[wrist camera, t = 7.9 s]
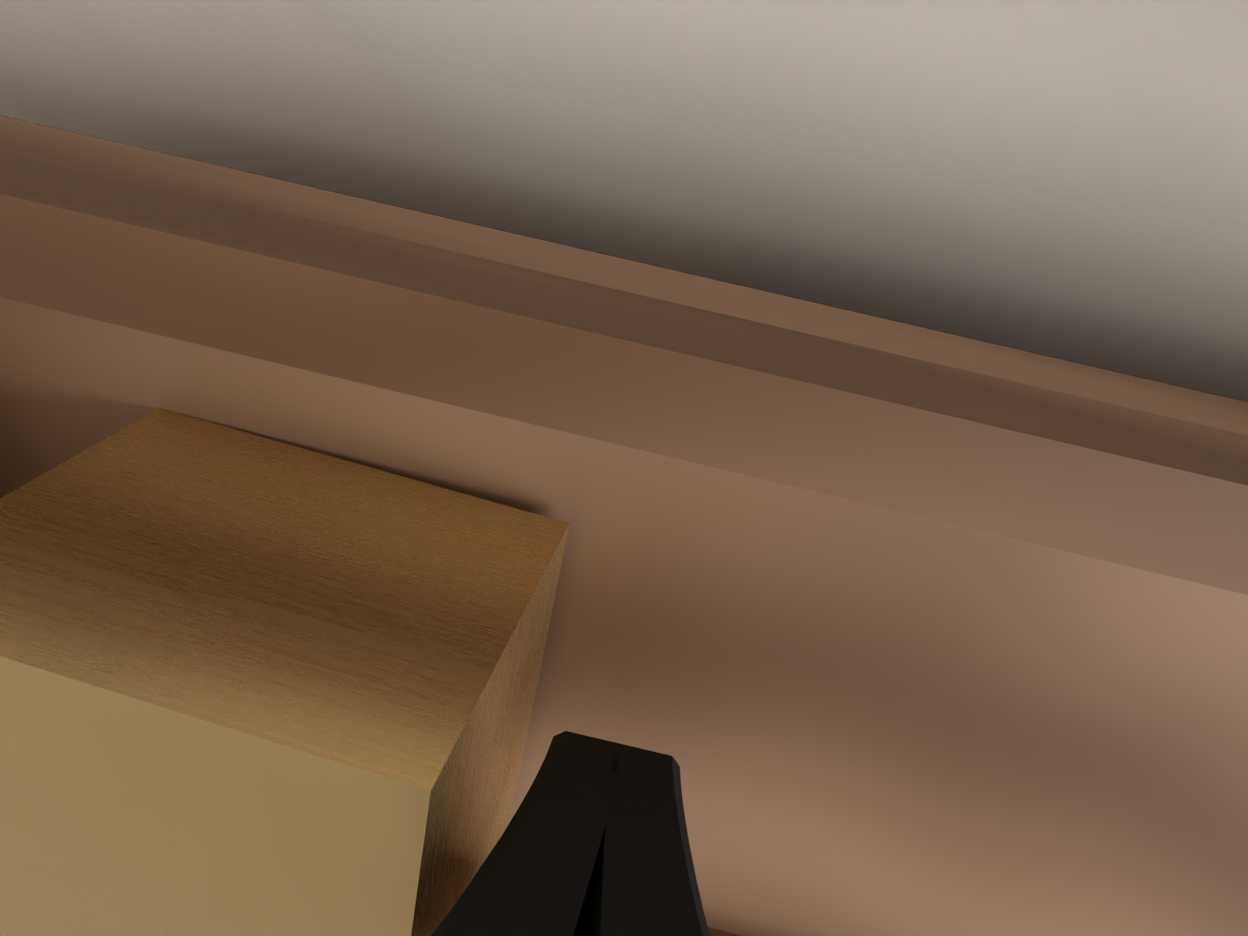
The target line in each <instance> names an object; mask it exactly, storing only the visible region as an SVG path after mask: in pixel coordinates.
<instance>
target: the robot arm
mask: <svg viewBox="0 0 1248 936" xmlns="http://www.w3.org/2000/svg"><path fill="white" fill-rule="evenodd" d="M431 936H710V934H709V930H708V926H707V922H706V918H705V914H704V910H703V906H702V902H701V897H700V893H699V888H698V884H697V879H696V875H695V870H694V864H693V859H692V854H691V849H690V844H689V838H688V833H687V827H686V821H685V814H684V807H683V798H682V789H681V778H680V766H679V765H678V763H677V762H676V760H675V759H674V758H673V756H671V755H667V754H662V753H658V752H654V751H650V750H645V749H641V748H637V747H633V746H628V745H624V744H620V743H616V742H611V741H607V740H603V739H599V738H594V737H590V736H586V735H582V734H577V733H573V732H569V731H564V732H562V733H560V734H557V735H555V736H553V739H552V741H551V744H550V747H549V749H548V752H547V754H546V757H545V759H544V761H543V763H542V765H541V767H540V769H539V771H538V773H537V775H536V777H535V779H534V781H533V783H532V785H531V787H530V789H529V791H528V792H527V794H526V796H525V798H524V799H523V801H522V803H521V805H520V806H519V808H518V810H517V811H516V813H515V815H514V816H513V818H512V820H511V821H510V823H509V825H508V826H507V828H506V830H505V831H504V833H503V834H502V836H501V837H500V839H499V840H498V842H497V843H496V845H495V846H494V848H493V849H492V851H491V852H490V854H489V855H488V857H487V858H486V860H485V861H484V863H483V864H482V866H481V867H480V869H479V870H478V872H477V873H476V875H475V876H474V878H473V879H472V881H471V882H470V883H469V885H468V886H467V888H466V889H465V891H464V892H463V894H462V895H461V897H460V898H459V899H458V901H457V902H456V903H455V905H454V906H453V908H452V909H451V910H450V912H449V913H448V914H447V916H446V917H445V918H444V919H443V921H442V922H441V923H440V925H439V926H438V927H437V929H436V930H435V931H434V933H433V934H432V935H431Z"/></svg>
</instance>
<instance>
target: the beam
mask: <svg viewBox="0 0 1248 936" xmlns="http://www.w3.org/2000/svg"><path fill="white" fill-rule="evenodd" d="M159 408H162V409H165V410H169V411H172V412H176V413H180V414H183V415H187V416H190V417H194V418H197V419H201V420H204V421H208V422H211V423H215V424H219V425H222V426H226V427H229V428H233V429H236V430H240V431H243V432H247V433H250V434H254V435H258V436H261V437H265V438H268V439H272V440H275V441H279V442H282V443H286V444H289V445H293V446H297V447H300V448H304V449H307V450H311V451H314V452H318V453H321V454H325V455H328V456H332V457H336V458H339V459H343V460H346V461H350V462H353V463H357V464H360V465H364V466H368V467H371V468H375V469H378V470H382V471H385V472H389V473H392V474H396V475H399V476H403V477H407V478H410V479H414V480H417V481H421V482H424V483H428V484H431V485H435V486H438V487H442V488H446V489H449V490H453V491H456V492H460V493H463V494H467V495H470V496H474V497H477V498H481V499H485V500H488V501H492V502H495V503H499V504H502V505H506V506H509V507H513V508H516V509H520V510H524V511H527V512H531V513H534V514H538V515H541V516H545V517H548V518H552V519H555V520H559V521H563V522H566V523H570V524H569V529H568V534H567V539H566V544H565V549H564V554H563V559H562V564H561V569H560V574H559V579H558V584H557V589H556V594H555V599H554V604H553V609H552V614H551V619H550V624H549V629H548V634H547V639H546V644H545V649H544V654H543V659H542V664H541V669H540V674H539V679H538V684H537V689H536V694H535V699H534V704H533V709H532V714H531V719H530V724H529V729H528V734H527V739H526V744H525V749H524V754H523V759H522V764H521V769H520V774H519V779H518V784H517V789H516V794H515V799H514V804H513V809H512V814H511V819H510V821H511V820H512V818H513V816H514V815H515V813H516V811H517V810H518V808H519V806H520V805H521V803H522V801H523V799H524V798H525V796H526V794H527V792H528V791H529V789H530V787H531V785H532V783H533V781H534V779H535V777H536V775H537V773H538V771H539V769H540V767H541V765H542V763H543V761H544V759H545V757H546V754H547V752H548V749H549V747H550V744H551V741H552V739H553V736H555V735H557V734H560V733H562V732H564V731H569V732H573V733H577V734H582V735H586V736H590V737H594V738H599V739H603V740H607V741H611V742H616V743H620V744H624V745H628V746H633V747H637V748H641V749H645V750H650V751H654V752H658V753H662V754H667V755H671V756H673V758H674V759H675V760H676V762H677V763H678V765H679V766H680V778H681V789H682V798H683V807H684V814H685V821H686V827H687V833H688V838H689V844H690V849H691V854H692V859H693V864H694V870H695V875H696V879H697V884H698V888H699V893H700V897H701V902H702V906H703V910H704V914H705V918H706V922H707V926H708V930H709V934H710V936H1248V402H1244V401H1240V400H1235V399H1231V398H1227V397H1222V396H1218V395H1214V394H1209V393H1205V392H1201V391H1196V390H1192V389H1187V388H1183V387H1179V386H1174V385H1170V384H1166V383H1161V382H1157V381H1153V380H1148V379H1144V378H1140V377H1135V376H1131V375H1127V374H1122V373H1118V372H1114V371H1109V370H1105V369H1101V368H1096V367H1092V366H1087V365H1083V364H1079V363H1074V362H1070V361H1066V360H1061V359H1057V358H1053V357H1048V356H1044V355H1040V354H1035V353H1031V352H1027V351H1022V350H1018V349H1014V348H1009V347H1005V346H1001V345H996V344H992V343H987V342H983V341H979V340H974V339H970V338H966V337H961V336H957V335H953V334H948V333H944V332H940V331H935V330H931V329H927V328H922V327H918V326H914V325H909V324H905V323H901V322H896V321H892V320H887V319H883V318H879V317H874V316H870V315H866V314H861V313H857V312H853V311H848V310H844V309H840V308H835V307H831V306H827V305H822V304H818V303H814V302H809V301H805V300H801V299H796V298H792V297H788V296H783V295H779V294H774V293H770V292H766V291H761V290H757V289H753V288H748V287H744V286H740V285H735V284H731V283H727V282H722V281H718V280H714V279H709V278H705V277H701V276H696V275H692V274H688V273H683V272H679V271H674V270H670V269H666V268H661V267H657V266H653V265H648V264H644V263H640V262H635V261H631V260H627V259H622V258H618V257H614V256H609V255H605V254H601V253H596V252H592V251H588V250H583V249H579V248H574V247H570V246H566V245H561V244H557V243H553V242H548V241H544V240H540V239H535V238H531V237H527V236H522V235H518V234H514V233H509V232H505V231H501V230H496V229H492V228H488V227H483V226H479V225H474V224H470V223H466V222H461V221H457V220H453V219H448V218H444V217H440V216H435V215H431V214H427V213H422V212H418V211H414V210H409V209H405V208H401V207H396V206H392V205H388V204H383V203H379V202H374V201H370V200H366V199H361V198H357V197H353V196H348V195H344V194H340V193H335V192H331V191H327V190H322V189H318V188H314V187H309V186H305V185H301V184H296V183H292V182H288V181H283V180H279V179H274V178H270V177H266V176H261V175H257V174H253V173H248V172H244V171H240V170H235V169H231V168H227V167H222V166H218V165H214V164H209V163H205V162H201V161H196V160H192V159H188V158H183V157H179V156H174V155H170V154H166V153H161V152H157V151H153V150H148V149H144V148H140V147H135V146H131V145H127V144H122V143H118V142H114V141H109V140H105V139H101V138H96V137H92V136H88V135H83V134H79V133H75V132H70V131H66V130H61V129H57V128H53V127H48V126H44V125H40V124H35V123H31V122H27V121H22V120H18V119H14V118H9V117H5V116H1V115H0V498H2V497H4V496H6V495H7V494H9V493H11V492H13V491H14V490H16V489H18V488H20V487H21V486H23V485H25V484H27V483H29V482H30V481H32V480H34V479H36V478H37V477H39V476H41V475H43V474H44V473H46V472H48V471H50V470H51V469H53V468H55V467H57V466H59V465H60V464H62V463H64V462H66V461H67V460H69V459H71V458H73V457H74V456H76V455H78V454H80V453H82V452H83V451H85V450H87V449H89V448H90V447H92V446H94V445H96V444H97V443H99V442H101V441H103V440H104V439H106V438H108V437H110V436H112V435H113V434H115V433H117V432H119V431H120V430H122V429H124V428H126V427H127V426H129V425H131V424H133V423H134V422H136V421H138V420H140V419H142V418H143V417H145V416H147V415H149V414H150V413H152V412H154V411H156V410H157V409H159Z"/></svg>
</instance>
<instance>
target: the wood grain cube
mask: <svg viewBox="0 0 1248 936" xmlns="http://www.w3.org/2000/svg"><path fill="white" fill-rule="evenodd" d="M569 524H570V523H566V522H563V521H559V520H555V519H552V518H548V517H545V516H541V515H538V514H534V513H531V512H527V511H524V510H520V509H516V508H513V507H509V506H506V505H502V504H499V503H495V502H492V501H488V500H485V499H481V498H477V497H474V496H470V495H467V494H463V493H460V492H456V491H453V490H449V489H446V488H442V487H438V486H435V485H431V484H428V483H424V482H421V481H417V480H414V479H410V478H407V477H403V476H399V475H396V474H392V473H389V472H385V471H382V470H378V469H375V468H371V467H368V466H364V465H360V464H357V463H353V462H350V461H346V460H343V459H339V458H336V457H332V456H328V455H325V454H321V453H318V452H314V451H311V450H307V449H304V448H300V447H297V446H293V445H289V444H286V443H282V442H279V441H275V440H272V439H268V438H265V437H261V436H258V435H254V434H250V433H247V432H243V431H240V430H236V429H233V428H229V427H226V426H222V425H219V424H215V423H211V422H208V421H204V420H201V419H197V418H194V417H190V416H187V415H183V414H180V413H176V412H172V411H169V410H165V409H162V408H159V409H157V410H156V411H154V412H152V413H150V414H149V415H147V416H145V417H143V418H142V419H140V420H138V421H136V422H134V423H133V424H131V425H129V426H127V427H126V428H124V429H122V430H120V431H119V432H117V433H115V434H113V435H112V436H110V437H108V438H106V439H104V440H103V441H101V442H99V443H97V444H96V445H94V446H92V447H90V448H89V449H87V450H85V451H83V452H82V453H80V454H78V455H76V456H74V457H73V458H71V459H69V460H67V461H66V462H64V463H62V464H60V465H59V466H57V467H55V468H53V469H51V470H50V471H48V472H46V473H44V474H43V475H41V476H39V477H37V478H36V479H34V480H32V481H30V482H29V483H27V484H25V485H23V486H21V487H20V488H18V489H16V490H14V491H13V492H11V493H9V494H7V495H6V496H4V497H2V498H0V936H431V935H432V934H433V933H434V931H435V930H436V929H437V927H438V926H439V925H440V923H441V922H442V921H443V919H444V918H445V917H446V916H447V914H448V913H449V912H450V910H451V909H452V908H453V906H454V905H455V903H456V902H457V901H458V899H459V898H460V897H461V895H462V894H463V892H464V891H465V889H466V888H467V886H468V885H469V883H470V882H471V881H472V879H473V878H474V876H475V875H476V873H477V872H478V870H479V869H480V867H481V866H482V864H483V863H484V861H485V860H486V858H487V857H488V855H489V854H490V852H491V851H492V849H493V848H494V846H495V845H496V843H497V842H498V840H499V839H500V837H501V836H502V834H503V833H504V831H505V830H506V828H507V826H508V825H509V823H510V819H511V814H512V809H513V804H514V799H515V794H516V789H517V784H518V779H519V774H520V769H521V764H522V759H523V754H524V749H525V744H526V739H527V734H528V729H529V724H530V719H531V714H532V709H533V704H534V699H535V694H536V689H537V684H538V679H539V674H540V669H541V664H542V659H543V654H544V649H545V644H546V639H547V634H548V629H549V624H550V619H551V614H552V609H553V604H554V599H555V594H556V589H557V584H558V579H559V574H560V569H561V564H562V559H563V554H564V549H565V544H566V539H567V534H568V529H569Z"/></svg>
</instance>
